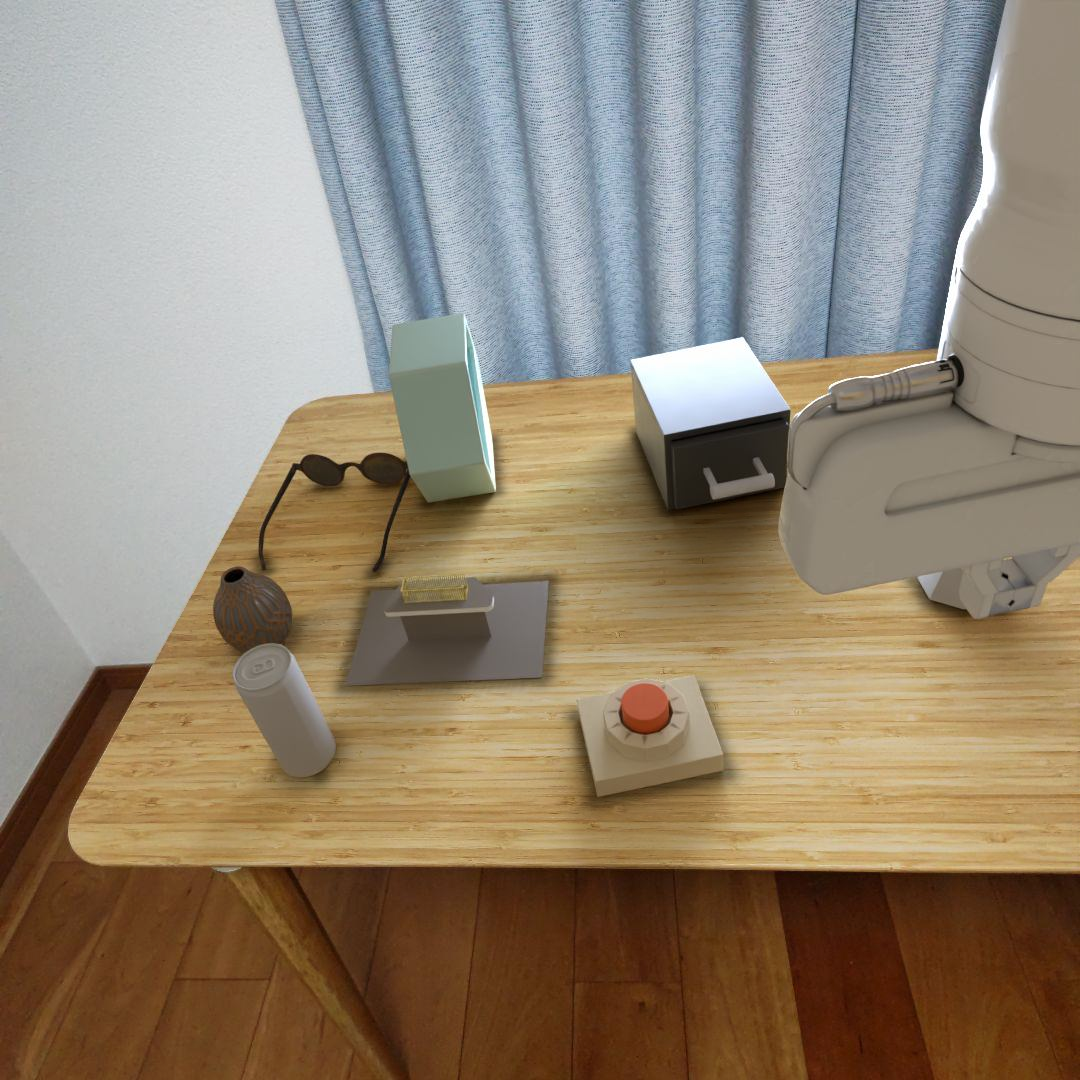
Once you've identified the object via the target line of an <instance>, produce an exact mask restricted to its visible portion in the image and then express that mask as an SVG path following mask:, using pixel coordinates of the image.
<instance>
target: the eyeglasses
mask: <svg viewBox="0 0 1080 1080" xmlns="http://www.w3.org/2000/svg"><path fill="white" fill-rule="evenodd" d="M299 462H300V463H297V462H293V463H292V464H291V467H290V469H289V471H288V472H287V474H286V476H285V478H284V480H283V482H282V484H281V486H280V488H279V490H278V492H277V494H276V496H275V498H274V499H273V501H272V503H271V505H270V508H269V510H268V512H267V514H266V516H265V517H264V519H263V522H262V524H261V526H260V530H259V536H258V547H257V548H258V550H257V551H258V553H257V554H258V558H259V562H260V567H261V570H262V571H266V570H267V568H266V567H267V566H266V561H265V557H264V546H265V545H264V544H265V543H264V542H265V533H266V531H267V530H266V529H267V527H268V525H269V522H270V521H271V519H272V517H273V515H274V513H275V511H276V509H277V508H278V506H279V504H280V501H281V500H282V498H283V497H284V495H285V493H286V491H287V489H288V487H289V486H290V484H291V482H292V481H293V478H294V476H295V474H296V473H297V471H299V472H301V473H302V474H303V475H304V476H305V477H306V478H307V479H309V480H310V481H312V482H313V483H315V484H317V485H320V486H324V487H335V486H338V485H340V484H342V483H343V481H344V479H345V477H346V476H345V475H346V470H347V469H348V468H350V467H354V468H356V469H357V470H358V471H359V472H360V474H361V475H362V476H363V477H364V478H365V479H367V480H369V481H370V482H373V483H376V484H379V485H393V484H397V483H399V482H401V481H402V483H401V484H400V488H399V490H398V493H397V496H396V499H395V502H394V504H393V507H392V510H391V512H390V516H389V518H388V521H387V524H386V527H385V530H384V533H383V538H382V543H381V549H380V552H379V557H378V559H377V560H376V562H375V564H374V565H373V567H372V569H371V571H372V572H373V573H378V571H379V569H380V567H381V566H382V564H383V562H384V560H385V557H386V553H387V549H388V542H389V537H390V532H391V529H392V526H393V524H394V520H395V519H396V516H397V513H398V510H399V507H400V505H401V502H402V500H403V497H404V495H405V492H406V490H407V487H408V485H409V482H410V480H411V479H412V478H411V476H410V474H409V469H408V464H407V460H405V461H404V460H403V459H401V458H400V457H398V456H397V455H394V454H391V453H387V452H373V453H369V454H367V455H365V456H364V458H362V460H361V461H360V463H358V462H353V461H347V462H343V463H337V462H336V461H334V460H333V459H331V458H329V457H327V456H324V455H321V454H315V453H310V454H306V455H305V456H303V457H302V458H301V459H300V461H299Z"/></svg>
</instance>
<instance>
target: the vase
mask: <svg viewBox="0 0 1080 1080" xmlns="http://www.w3.org/2000/svg"><path fill="white" fill-rule="evenodd" d="M219 581H220V582H219V587H218V589H217V590H216V591H217V592H216V593H215V596H214V598H213V599H214V600H213V604H212V614H213V620H214V624H215V627H216V629H217V631H218V633H219V635H220V636H221V638H222V639H223V641H224V642H226V644H228V645H229V646H230V647H231V648H233V649H234V650H236V651H237V652H239V653H242V654H244V653H246V652H247V651H249V650H250V649H252V648H254V647H256V646H259V645H263V644H269V643H275V644H280V645H282V644H283V643H285V641H286V640H287V638H288V637H289V635H290V632H291V630H292V629H293V628H292V627H293V608H292V605H291V603H290V600H289V597H288V595H287V594H286V592H285V591H284V589H283V588H282V587H281V586H280V585H279V584H278V583H277V582H276V581H275V580H273V579H272V578H271V577H269V576H267V575H265V574H262V573H258V572H254V571H250V570H248V569H247V568H246V567H243V566H241V565H240V566H239V565H237V566H232V567H230V568H228V569H226V570H225V571H224V572H223V573H222V574H221V576H220V580H219Z"/></svg>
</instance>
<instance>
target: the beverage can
mask: <svg viewBox="0 0 1080 1080" xmlns="http://www.w3.org/2000/svg"><path fill="white" fill-rule="evenodd" d="M232 680H233V684H234V687H235V690H236V692H237V693H238V695H239V697H240V699H241V700H242V702H243V704H244V705H245V708H246V709H247V710H248V712H249V714H250V716H251V718H252V719H253V721H254V723H255V724H256V726H257V728H258V730H259V732H260V734H261V735H262V736H263V738H264V740H265V741H266V744H267V745H268V747H269V749H270V751H271V752H272V754H273V755H274V757H275V759H276V761H277V762H278V765H279V766H280V768H281V769H282V770H283V772H285V774H287V775H289V776H291V777H295V778H308V777H312V776H315V775H317V774H320V773H321V772H322V771H323V770H325V769H326V768H327V767H328V766H329V765H330V763H331V762H332V760H333V758H334V756H335V754H336V749H337V742H336V739H335V737H334V735H333V733H332V731H331V729H330V727H329V725H328V723H327V721H326V719H325V717H324V715H323V713H322V711H321V708H320V706H319V704H318V702H317V700H316V698H315V696H314V694H313V692H312V690H311V688H310V686H309V684H308V681H307V680H306V678H305V676H304V674H303V671H302V670H301V668H300V666H299V663H298V661H297V660H296V658H295V655H293V654H292V652H291V651H290V650H289V649H288V648H287V647H286V646H284V645H282V644H281V645H280V644H275V643H269V644H263V645H259V646H256V647H254V648H252V649H250V650H249V651H247V652H246V653H242V655H241V656H240V657H239V658H238V659H237V660H236V662H235V664H234V666H233V669H232Z"/></svg>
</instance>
